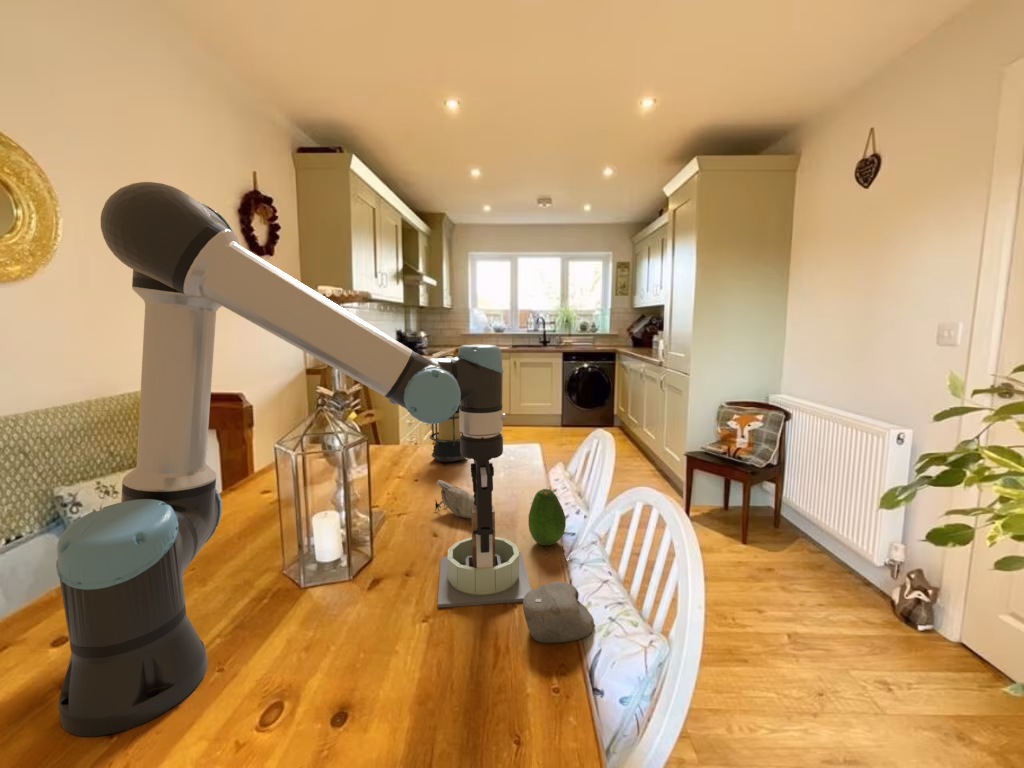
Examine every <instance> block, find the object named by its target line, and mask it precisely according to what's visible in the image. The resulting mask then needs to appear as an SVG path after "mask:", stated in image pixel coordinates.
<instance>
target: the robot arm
mask: <svg viewBox="0 0 1024 768" xmlns="http://www.w3.org/2000/svg"><path fill="white" fill-rule="evenodd" d="M99 219H100V231H101V233H102V237H103V240H104V241H105V243H106V245H107V248H108V249H109V250H110V252H111V253H112V254H113V256H115V258H117V259H118V260H119V261H120V262H122V264H124V265H125V266H127V267H128V268H130V269H132V281H131V282H132V285H131V287H132V288H131V290H132V291H133V292H134V293H136V294H137V295H138V296H139V298H141V299H142V300H143V302H144V317H143V318H144V322H143V323H144V324H143V336H142V337H143V342H142V343H143V344H142V358H141V359H142V360H141V379H140V394H139V397H140V398H139V414H138V415H139V416H138V434H137V452H136V453H137V455H136V466H135V467H134V468H133V469H132V470H130V471H129V472H128V473H127V474H125V475H124V476H123V477H122V486H121V502H117V503H113V504H110V505H106V506H103V507H102V508H101V510H97V511H91V512H89V513H87V514H85V515H83V516H81V517H79V518H78V519H76V520H74V522H73V523H71V524H70V525H68V526H67V528H66V529H65V530H64V531H63V532H62V533H61V535H60V536H59V539H58V541H57V547H56V550H57V551H56V552H57V560H56V562H55V563H56V572H57V576H58V578H59V584H60V589H61V590H60V591H61V596H62V601H63V602H62V603H63V610H64V615H65V621H66V627H67V635H68V640H69V641H68V642H69V646H70V647H69V648H70V657H69V660H68V665H67V668H66V672H65V674H64V678H63V682H62V686H61V690H60V694H59V697H58V701H57V702H58V703H57V705H58V706H57V708H58V714H59V720H60V724H61V727H62V728H63V730H65V731H66V732H68V733H69V734H72V735H75V736H80V737H97V736H98V737H99V736H106V735H110V734H111V735H112V734H115V733H118V732H119V733H120V732H122V731H125V730H129V729H131V728H134V727H137V726H140V725H142V724H145V723H146V722H149V721H151V720H152V719H154V718H157V717H159V716H160V715H162V714H165V712H167V711H168V710H170V709H172V708H174V707H175V706H176V705H178V704H179V703H180V702H182V701H183V700H184V699H185V698H187V697H188V696H189V695H190V694H191V693H192V692H193V691H194V690H195V689H196V688H197V686H199V684H200V683H201V681H202V680H203V678H204V676H205V675H206V672H207V668H208V659H207V658H208V657H207V649H206V645H205V644H204V642H203V641H202V639H201V638H200V636H199V634H198V632H197V630H196V629H195V627H194V625H193V624H192V621H190V619H189V617H188V615H187V609H186V599H185V589H184V581H183V580H184V578H183V577H184V576H183V575H184V571H186V569H187V568H188V566H190V563H191V562H192V561H193V559H195V557H196V555H198V553H199V552H200V550H201V549H202V547H203V546H204V545H205V544H206V543H207V542H208V541H209V540H210V539H211V538H212V536H213V535H214V534H215V532H216V530H217V527H218V525H219V524H220V521H221V520H220V519H221V516H222V511H223V510H222V509H223V503H222V498H221V495H220V493H219V491H218V490H217V487H216V486H217V473H216V471H215V470H214V469H212V468H211V467H210V466H209V465H208V464H207V451H208V441H209V440H208V439H209V438H208V437H209V427H210V425H209V423H210V409H211V407H210V406H211V398H212V397H211V394H212V383H213V382H212V381H213V379H212V377H213V366H214V363H213V362H214V351H215V336H216V334H215V333H216V321H217V320H216V319H217V311H218V310H219V309H220V308H221V307H224V308H225V309H227V310H229V311H230V312H233V313H235V314H236V315H238V316H239V317H242V318H244V319H245V320H247V321H249V322H251V323H253V324H254V325H256V326H258V327H260V328H261V329H263V330H265V331H266V332H268V333H270V334H272V335H274V336H276V337H277V338H279V339H281V340H283V341H285V342H286V343H289V344H290V345H292V346H294V347H295V348H297V349H299V350H301V351H302V352H304V353H306V354H308V355H309V356H311V357H313V358H315V359H316V360H319V361H320V362H323V363H324V364H326V365H328V366H330V367H332V368H333V369H335V370H337V371H339V372H340V373H343V374H344V375H345V376H348V377H350V378H351V379H353V380H354V381H357V382H358V383H360V384H361V385H363V386H366V387H367V388H369V389H371V390H372V391H375V392H377V393H378V394H379V395H382V396H383V397H384V398H387V400H388V401H389V402H390V404H392V405H399V406H401V407H402V408H404V409H406V410H407V412H408V413H409V414H410V415H411V416H412V417H413V418H415V419H417V421H420V422H422V423H424V424H429V425H432V424H436V423H437V424H439V423H441V422H443V421H446V420H447V419H449V418H450V417H451V416H452V415H453V414H454V413H455V412H456V411H457V409H458V407H459V404H460V409H459V423H460V431H461V432H462V433H463V434H461V436H460V453H461V455H462V456H463V457H465V458H464V459H469V460H473V462H470V475H471V481H472V491H473V495H472V496H473V497H474V499H475V500H474V505H475V506H477V529H476V530H473V534H476V549H477V568H485V567H493V543H492V535H493V532H494V530H493V521H492V506H493V495H492V492H493V490H494V474H495V468H494V467H495V466H494V465H493V462H490V460H492V459H496V458H499V457H501V456H502V455H503V453H504V435H503V433H501V432H502V431H503V428H504V427H503V425H504V424H503V420H505V419H507V415H506V413H503V379H504V378H503V374H504V370H503V358H502V350H501V348H500V347H499V346H498V345H494V344H482V343H481V344H480V343H479V344H462V345H460V346H459V347H458V353H457V355H456V356H457V357H453V356H449V357H441V358H438V357H424V356H422V355H421V354H419V353H417V352H415V351H414V350H413V349H411V348H409V347H408V346H407V345H405V344H403V343H401V342H399V341H398V340H396V339H395V338H393V337H391V336H389V335H388V334H386V333H385V332H383V331H382V330H380V329H378V328H376V327H375V326H373V325H372V324H370V323H369V322H367V321H366V320H363V319H362V318H360V317H359V316H357V315H355V314H354V313H353V312H350V311H348V310H347V309H345V308H344V307H342V306H340V305H339V304H337V303H335V302H333V300H330V299H329V298H327V297H326V296H324V295H323V294H321V293H319V292H317V291H316V290H314V289H313V288H310V286H308V285H306V284H304V283H302V282H300V281H299V280H297V279H296V278H295V277H293V276H291V275H290V274H287V273H286V272H284V271H283V270H281V269H280V268H278V267H276V266H274V265H272V264H271V263H269V262H268V261H267V260H265V259H263V258H262V257H260V256H259V255H257V254H255V253H253V252H252V251H249V250H248V249H247V248H246V247H243V246H242V245H240V242H239V239H238V237H237V234H236V233H235V231H234V229H233V228H232V227H231V226H230V223H228V221H227V220H226V219H225V218H224V217H223V216H222V215H221V214H220V213H219V212H217V211H216V210H214V209H213V208H212V207H209V206H208V205H206V204H204V203H201V202H200V201H198V200H196V199H195V198H193V197H192V196H190V195H189V194H188V193H186V192H185V191H182V190H181V189H179V188H176V187H175V186H172V185H168V184H165V183H160V182H153V181H141V182H134V183H133V182H132V183H130V184H127V185H125V186H123V187H120V188H119V189H117V190H116V191H115V192H113V193H112V194H111V195H110V196H109V197H108V198H107V200H106V201H105V203H104V205H103V208H102V209H101V213H100V218H99Z"/></svg>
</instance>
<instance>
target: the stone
mask: <svg viewBox="0 0 1024 768" xmlns="http://www.w3.org/2000/svg"><path fill="white" fill-rule="evenodd" d="M579 596H580V595H579V592H578V589H577V588H576V587H575V586H574V585H572V584H570V583H569V582H566V581H558V580H557V581H551V582H549V583H545V584H542V585H540V586H538V587H536V588H534V589H531V591H529V592H528V593H527V594H526V595H525V596H524V599H523V602H522V610H523V615H524V619H525V623H526V626H527V628H528V631H529V634H530V636H531V637H532V639H534V640H535V641H536V642H539V643H543V644H555V643H557V644H558V643H564V644H565V643H569V642H575V641H577V640H580V639H583V638H584V639H586V638H587V637H589V636H590V635H591V634H592V632H593V629H594V628H595V627H596V624H595V620H594V618H593V616H592V614H591V613H590V612H589V610H588V608H587V607H586V606H585V605H583V603H581V602H580V601H579Z"/></svg>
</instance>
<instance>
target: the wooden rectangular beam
mask: <svg viewBox="0 0 1024 768" xmlns="http://www.w3.org/2000/svg"><path fill="white" fill-rule="evenodd" d="M471 510H472V518H471V537H472V567H474V568H477V549H476V534H473V530H476V529H477V506H476V507H471ZM495 515H496V512H495V507H494V505H492V521H493V530H494V532H493V535H492V543H493V567H495V537H496V516H495Z"/></svg>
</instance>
